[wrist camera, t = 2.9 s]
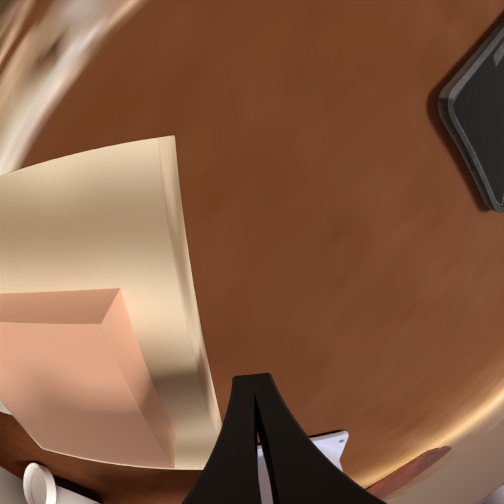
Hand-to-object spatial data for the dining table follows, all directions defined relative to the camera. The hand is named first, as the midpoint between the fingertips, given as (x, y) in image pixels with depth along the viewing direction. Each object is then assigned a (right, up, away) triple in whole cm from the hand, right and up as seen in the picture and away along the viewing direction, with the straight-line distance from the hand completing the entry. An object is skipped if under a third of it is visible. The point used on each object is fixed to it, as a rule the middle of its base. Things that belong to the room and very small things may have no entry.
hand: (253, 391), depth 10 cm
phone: (+16, +15, 0) cm, 22 cm away
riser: (-9, +1, +3) cm, 10 cm away
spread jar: (-24, -24, +13) cm, 36 cm away
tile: (-8, 0, 0) cm, 8 cm away
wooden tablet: (+18, -30, +20) cm, 40 cm away
